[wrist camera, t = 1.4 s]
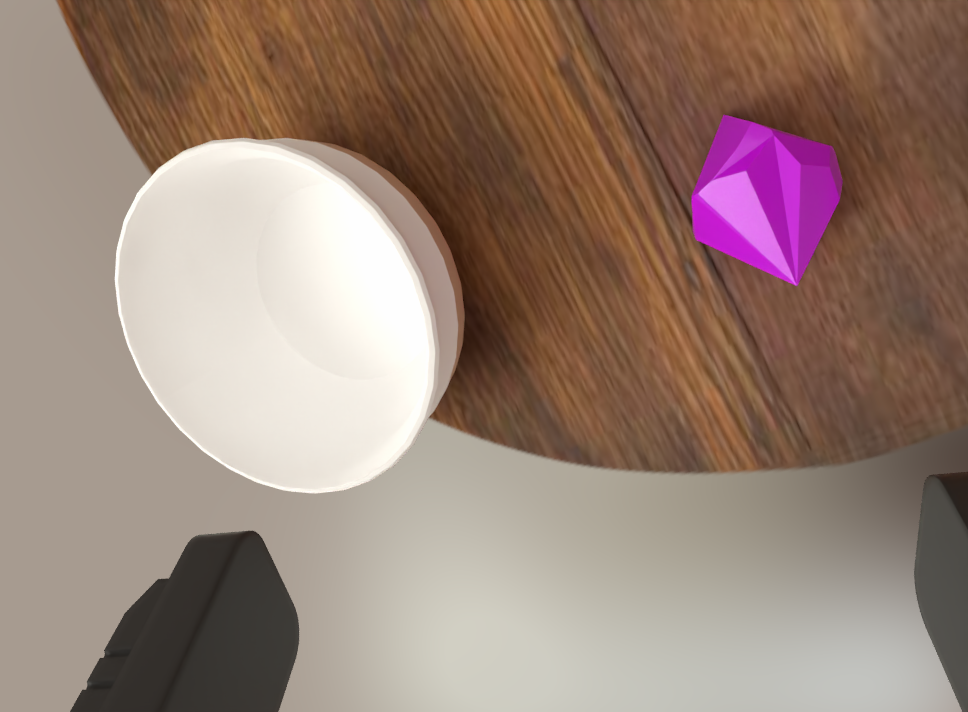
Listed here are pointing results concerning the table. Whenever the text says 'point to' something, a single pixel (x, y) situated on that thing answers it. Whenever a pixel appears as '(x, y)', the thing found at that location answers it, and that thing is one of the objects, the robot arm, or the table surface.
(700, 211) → the crystal
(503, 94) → the table surface
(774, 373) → the table surface
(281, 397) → the bowl
